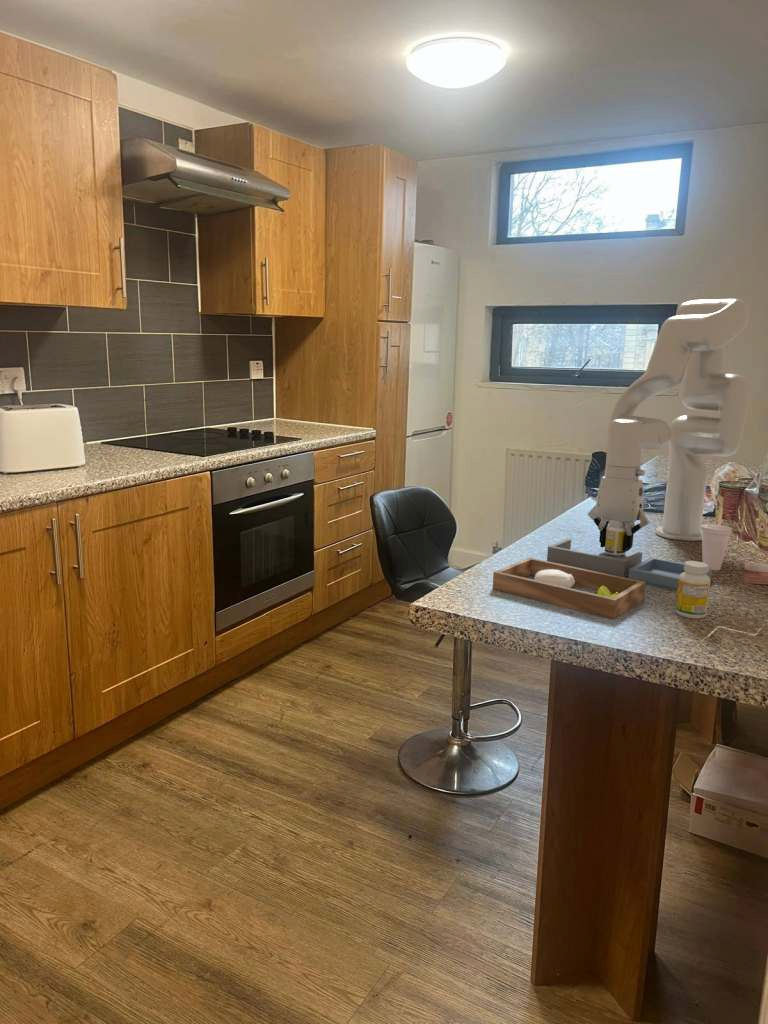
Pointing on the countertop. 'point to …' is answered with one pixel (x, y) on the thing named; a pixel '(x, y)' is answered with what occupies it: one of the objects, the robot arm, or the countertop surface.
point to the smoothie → (714, 543)
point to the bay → (591, 560)
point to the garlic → (555, 577)
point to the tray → (659, 573)
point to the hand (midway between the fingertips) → (615, 547)
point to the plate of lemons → (606, 592)
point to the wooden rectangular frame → (517, 584)
